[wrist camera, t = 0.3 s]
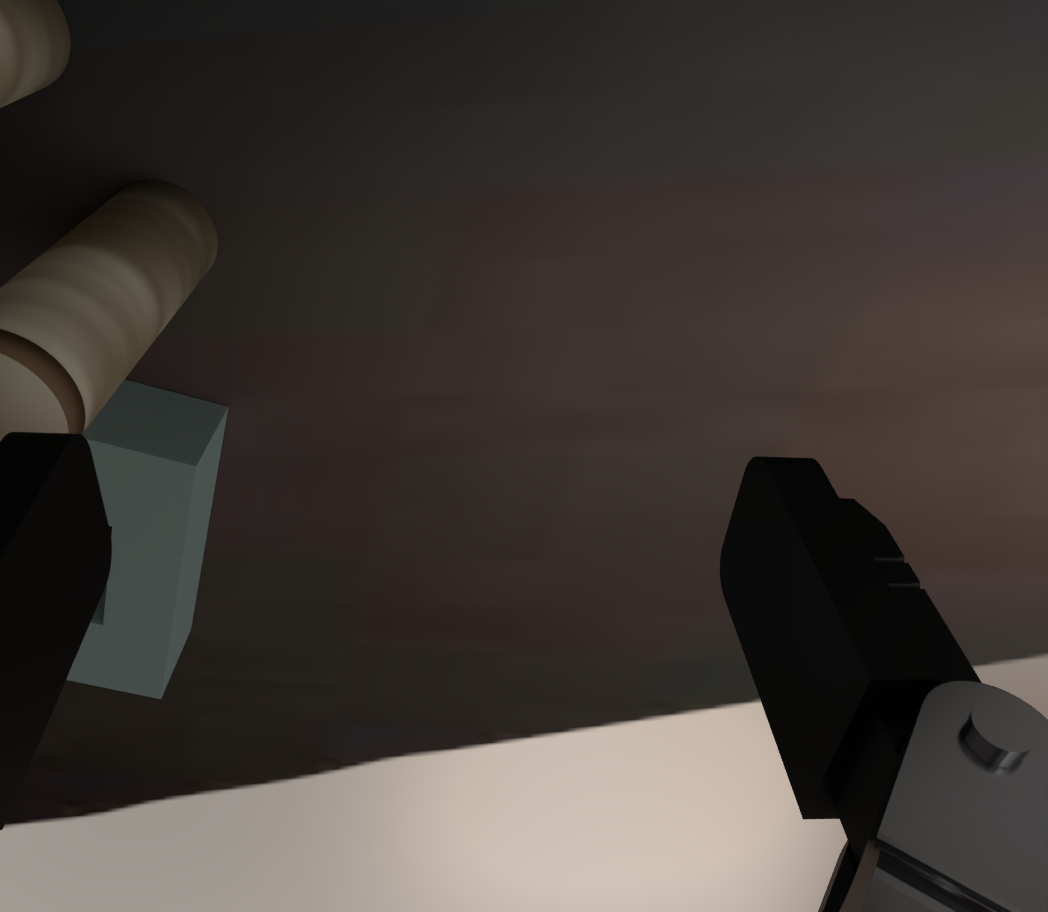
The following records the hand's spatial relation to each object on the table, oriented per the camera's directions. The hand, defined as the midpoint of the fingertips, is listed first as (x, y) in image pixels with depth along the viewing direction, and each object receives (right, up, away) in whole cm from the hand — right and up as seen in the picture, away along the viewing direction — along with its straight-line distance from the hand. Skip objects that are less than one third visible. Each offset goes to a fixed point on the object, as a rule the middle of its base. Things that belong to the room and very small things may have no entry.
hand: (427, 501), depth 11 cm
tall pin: (-11, +8, +19) cm, 23 cm away
